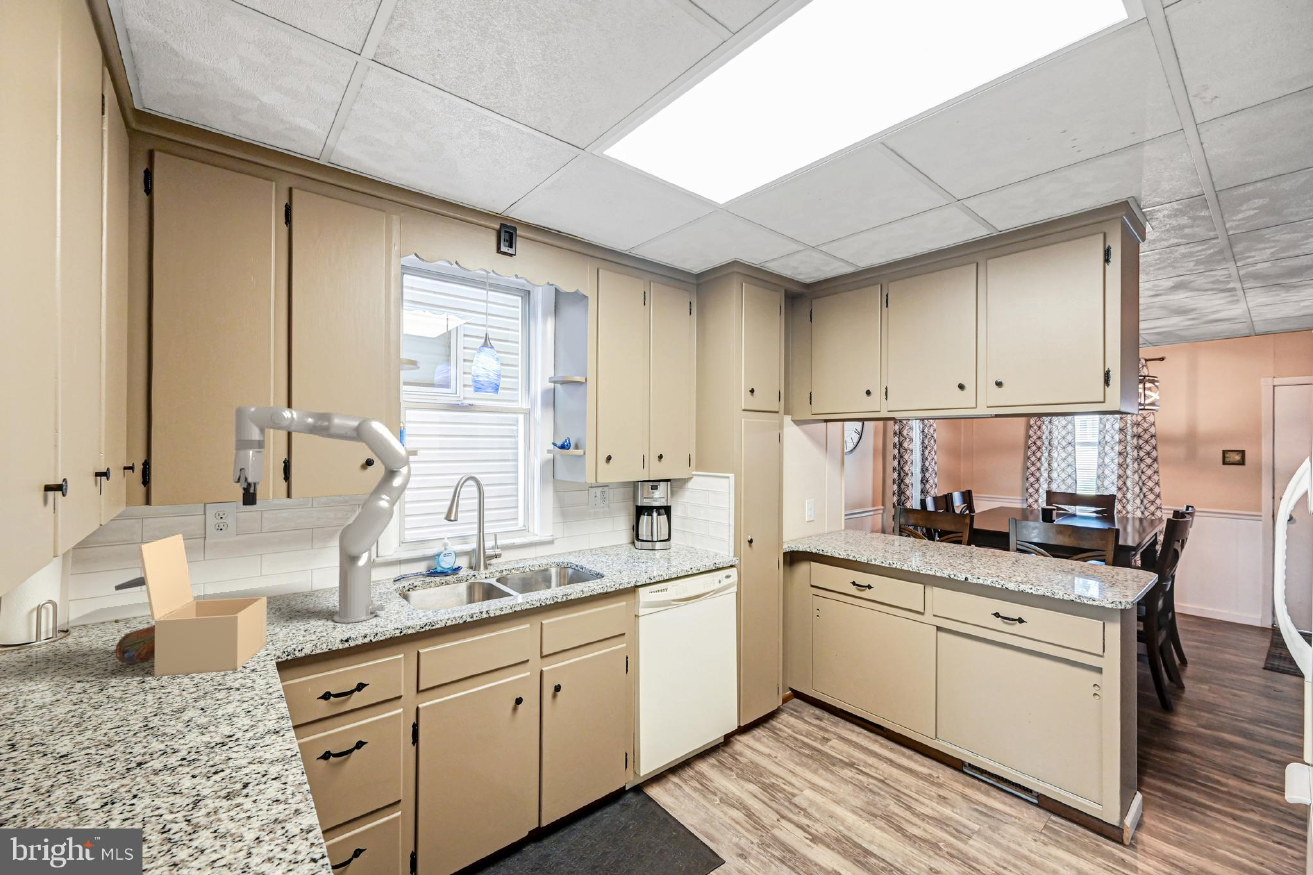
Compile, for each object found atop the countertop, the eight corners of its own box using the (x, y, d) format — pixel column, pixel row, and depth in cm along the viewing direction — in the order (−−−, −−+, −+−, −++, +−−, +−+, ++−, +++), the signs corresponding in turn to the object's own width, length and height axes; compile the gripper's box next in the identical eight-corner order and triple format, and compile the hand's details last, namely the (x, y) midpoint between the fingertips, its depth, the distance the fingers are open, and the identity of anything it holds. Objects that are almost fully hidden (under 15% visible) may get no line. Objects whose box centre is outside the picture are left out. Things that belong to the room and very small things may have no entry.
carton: (266, 645, 164) (266, 596, 164) (237, 669, 147) (237, 615, 147) (193, 650, 160) (193, 600, 160) (154, 676, 142) (155, 620, 142)
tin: (122, 669, 147) (122, 636, 147) (112, 667, 147) (113, 635, 147) (181, 648, 161) (181, 618, 161) (172, 647, 162) (172, 617, 162)
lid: (181, 533, 159) (141, 540, 157) (141, 545, 141) (95, 553, 139) (193, 599, 160) (153, 607, 157) (155, 619, 142) (109, 628, 140)
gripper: (247, 445, 182) (246, 502, 181) (224, 446, 167) (223, 508, 167) (273, 445, 183) (273, 502, 183) (253, 446, 169) (252, 508, 169)
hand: (249, 505), depth 175 cm, fingers closed
